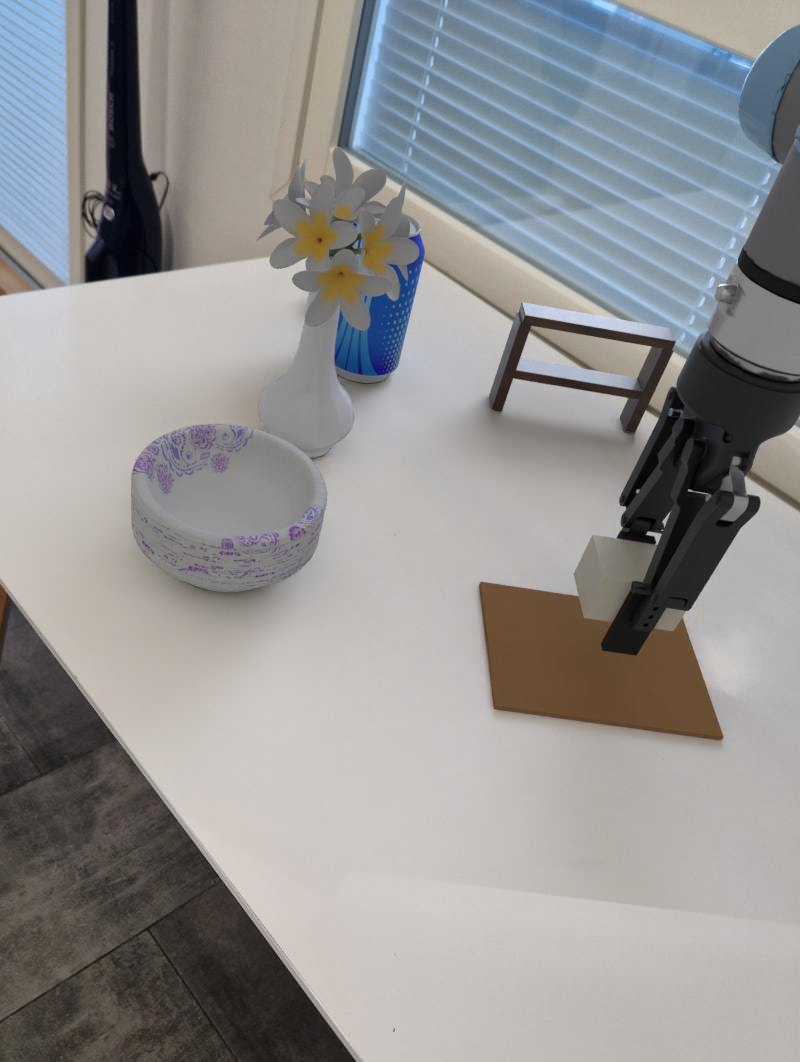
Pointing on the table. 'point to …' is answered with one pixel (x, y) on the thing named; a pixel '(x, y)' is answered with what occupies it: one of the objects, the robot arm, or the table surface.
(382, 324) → the beer can
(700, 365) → the robot arm
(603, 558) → the white cardboard box
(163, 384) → the table surface
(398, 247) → the flower vase
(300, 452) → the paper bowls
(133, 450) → the table surface
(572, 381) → the rack
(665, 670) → the mat
